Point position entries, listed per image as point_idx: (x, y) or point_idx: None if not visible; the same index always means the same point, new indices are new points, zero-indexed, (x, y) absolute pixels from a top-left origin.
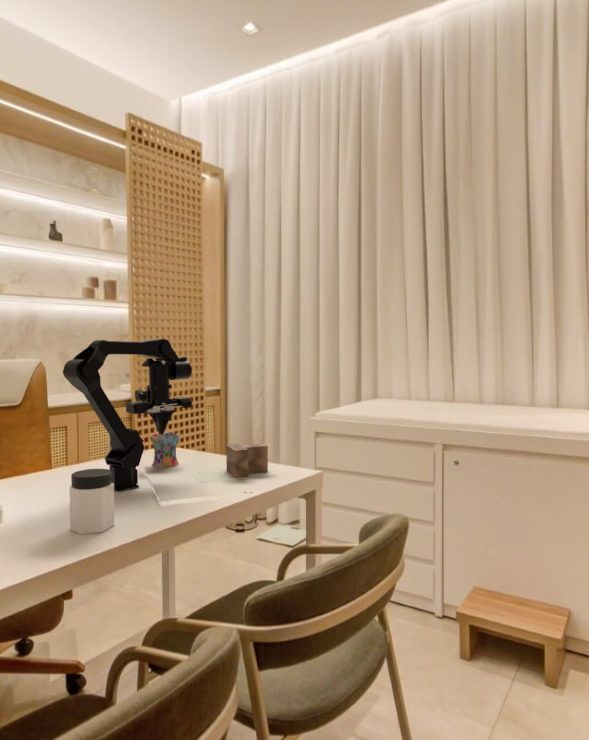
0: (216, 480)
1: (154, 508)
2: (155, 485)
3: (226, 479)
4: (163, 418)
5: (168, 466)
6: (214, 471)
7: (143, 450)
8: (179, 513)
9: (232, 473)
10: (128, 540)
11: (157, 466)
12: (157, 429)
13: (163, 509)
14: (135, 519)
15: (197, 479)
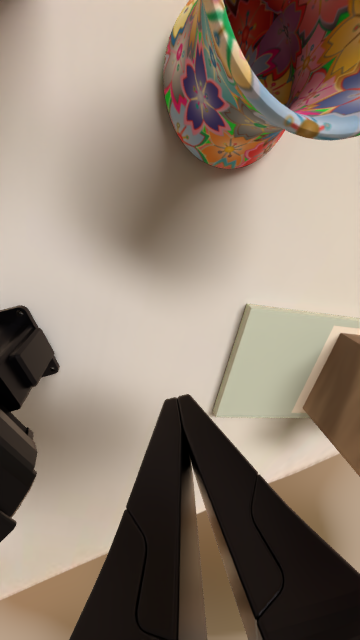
0: (257, 413)
1: (76, 504)
2: (112, 361)
3: (279, 413)
4: (249, 636)
5: (224, 165)
6: (309, 328)
7: (35, 459)
8: (113, 528)
9: (316, 392)
10: (22, 587)
11: (180, 129)
12: (153, 437)
13: (92, 511)
14: (35, 538)
15: (225, 390)
